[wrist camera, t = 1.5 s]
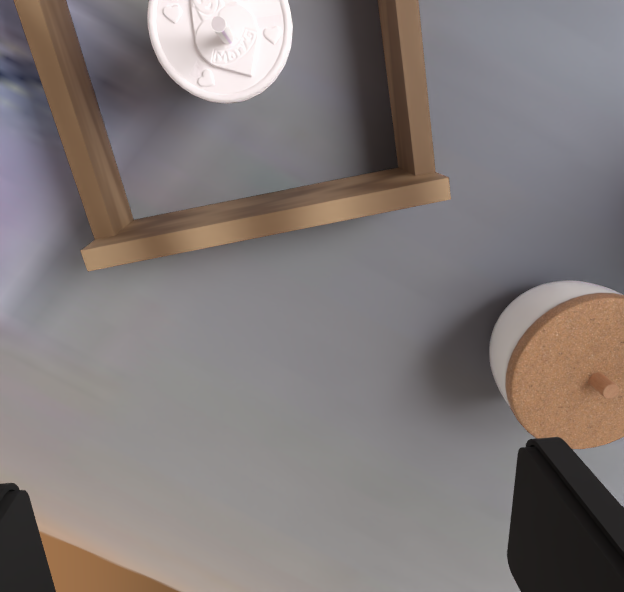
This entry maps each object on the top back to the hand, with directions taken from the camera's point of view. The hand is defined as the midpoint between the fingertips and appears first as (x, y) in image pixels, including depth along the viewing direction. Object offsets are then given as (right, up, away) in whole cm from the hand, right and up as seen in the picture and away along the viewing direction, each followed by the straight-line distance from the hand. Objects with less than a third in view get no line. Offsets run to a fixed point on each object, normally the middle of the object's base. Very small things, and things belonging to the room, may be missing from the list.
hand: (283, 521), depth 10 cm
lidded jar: (+18, +2, +30) cm, 35 cm away
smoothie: (-4, +20, +22) cm, 30 cm away
